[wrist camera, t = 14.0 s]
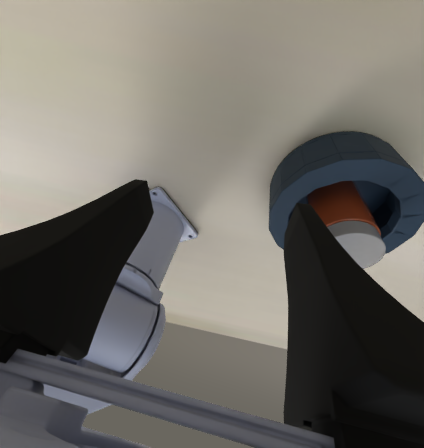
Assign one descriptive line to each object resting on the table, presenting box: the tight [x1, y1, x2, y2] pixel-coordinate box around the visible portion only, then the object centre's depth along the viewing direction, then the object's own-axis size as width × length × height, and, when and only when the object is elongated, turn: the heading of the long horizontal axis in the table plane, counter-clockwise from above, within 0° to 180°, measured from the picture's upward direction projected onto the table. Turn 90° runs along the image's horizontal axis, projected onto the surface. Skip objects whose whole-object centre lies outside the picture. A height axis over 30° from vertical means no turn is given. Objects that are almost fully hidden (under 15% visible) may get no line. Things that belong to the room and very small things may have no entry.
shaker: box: [306, 181, 386, 269], centre depth 16 cm, size 4×4×7 cm
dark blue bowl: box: [269, 131, 424, 254], centre depth 17 cm, size 10×10×5 cm
